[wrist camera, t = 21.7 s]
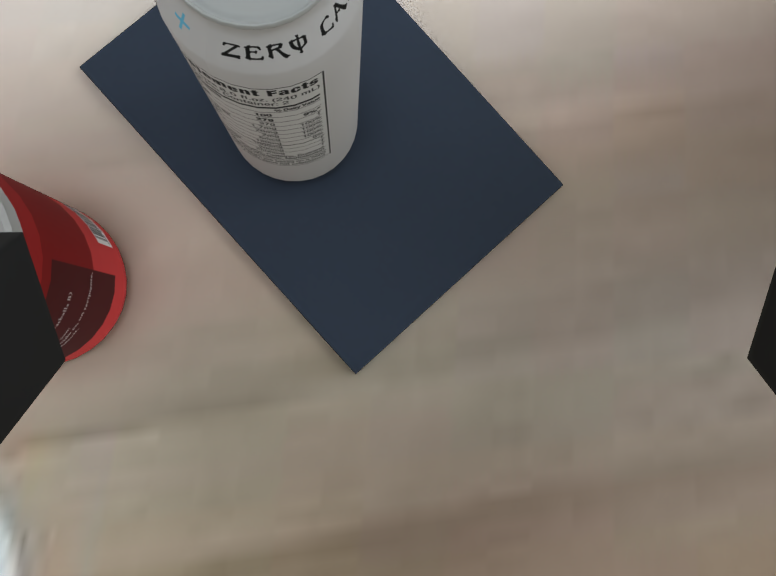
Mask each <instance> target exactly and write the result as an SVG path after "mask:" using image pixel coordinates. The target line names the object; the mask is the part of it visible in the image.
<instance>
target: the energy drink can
mask: <svg viewBox="0 0 776 576" xmlns="http://www.w3.org/2000/svg"><path fill="white" fill-rule="evenodd" d="M155 1H156V4H157V6H158V9H159V12H160V14H161V17H162V19H163V21H164V22H165V24H166V26H167V27H168V29H169V31H170V33H171V34H172V36H173V38H174V39H175V41H176V43H177V45H178V46H179V48H180V50H181V52H182V53H183V55H184V57H185V58H186V60H187V62H188V64H189V65H190V67H191V69H192V70H193V72H194V74H195V76H196V77H197V79H198V81H199V82H200V84H201V86H202V88H203V89H204V91H205V93H206V95H207V96H208V98H209V100H210V101H211V103H212V105H213V107H214V108H215V110H216V112H217V113H218V115H219V117H220V119H221V120H222V122H223V124H224V126H225V127H226V129H227V131H228V132H229V134H230V136H231V138H232V139H233V141H234V143H235V144H236V146H237V148H238V149H239V151H240V152H241V154H242V155H243V157H244V158H245V159H246V160H247V161H248V162H249V163H250V164H251V165H252V166H253V167H254V168H256V169H257V170H259V171H260V172H262V173H263V174H266V175H268V176H270V177H273V178H275V179H280V180H285V181H304V180H310V179H313V178H316V177H319V176H321V175H324V174H325V173H327V172H328V171H330V170H332V169H333V168H334V167H336V166H337V165H338V164H339V163H340V162H341V161H342V160H343V159H344V157H345V156H346V154H347V153H348V152H349V150H350V148H351V146H352V144H353V141H354V139H355V135H356V130H357V120H358V99H359V77H360V56H361V35H362V13H363V0H155Z"/></svg>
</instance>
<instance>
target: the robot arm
mask: <svg viewBox="0 0 776 576" xmlns="http://www.w3.org/2000/svg"><path fill="white" fill-rule="evenodd" d="M747 358H748V360H749V361H750V362H751V364H752V365H753V366H754V367H755V369H756V370H757V371H758V373H759V374H760V375H761V376H762V378H763V379H764V380H765V382H766V383H767V384H768V386H769V387H770V388H771V389H772V391H773V392H774V393H775V395H776V268H775V271H774V274H773V277H772V280H771V284H770V287H769V290H768V293H767V296H766V300H765V303H764V306H763V309H762V312H761V316H760V319H759V322H758V325H757V328H756V332H755V335H754V338H753V341H752V344H751V348H750V351H749V354H748V357H747ZM64 362H65V357H64V354H63V351H62V348H61V345H60V342H59V339H58V336H57V333H56V330H55V327H54V324H53V321H52V318H51V315H50V312H49V309H48V306H47V303H46V300H45V297H44V294H43V291H42V288H41V285H40V282H39V279H38V276H37V273H36V270H35V267H34V264H33V261H32V258H31V255H30V252H29V249H28V246H27V243H26V240H25V237H24V234H23V232H0V444H1V443H2V441H3V440H4V439H5V438H6V436H7V435H8V434H9V432H10V431H11V430H12V429H13V427H14V426H15V425H16V423H17V422H18V421H19V419H20V418H21V417H22V416H23V414H24V413H25V412H26V410H27V409H28V408H29V407H30V405H31V404H32V403H33V401H34V400H35V399H36V398H37V396H38V395H39V394H40V392H41V391H42V390H43V389H44V387H45V386H46V385H47V383H48V382H49V381H50V380H51V378H52V377H53V376H54V374H55V373H56V372H57V371H58V369H59V368H60V367H61V365H62V364H63V363H64Z"/></svg>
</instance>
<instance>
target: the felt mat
mask: <svg viewBox="0 0 776 576" xmlns="http://www.w3.org/2000/svg"><path fill="white" fill-rule="evenodd" d="M80 68H81V69H82V70H83V72H84V73H85V74H86V75H87V76H88V77H89V78H90V79H91V80H92V82H93V83H94V84H95V85H96V86H97V87H98V88H99V89H100V90H101V92H102V93H103V94H104V95H105V96H106V97H107V98H108V99H109V100H110V102H111V103H112V104H113V105H114V106H115V107H116V108H117V109H118V110H119V112H120V113H121V114H122V115H123V116H124V117H125V118H126V119H127V120H128V122H129V123H130V124H131V125H132V126H133V127H134V128H135V129H136V130H137V132H138V133H139V134H140V135H141V136H142V137H143V138H144V139H145V140H146V142H147V143H148V144H149V145H150V146H151V147H152V148H153V149H154V151H155V152H156V153H157V154H158V155H159V156H160V157H161V158H162V159H163V161H164V162H165V163H166V164H167V165H168V166H169V167H170V168H171V169H172V171H173V172H174V173H175V174H176V175H177V176H178V177H179V178H180V179H181V181H182V182H183V183H184V184H185V185H186V186H187V187H188V188H189V189H190V191H191V192H192V193H193V194H194V195H195V196H196V197H197V198H198V199H199V201H200V202H201V203H202V204H203V205H204V206H205V207H206V208H207V209H208V211H209V212H210V213H211V214H212V215H213V216H214V217H215V218H216V219H217V221H218V222H219V223H220V224H221V225H222V226H223V227H224V228H225V229H226V231H227V232H228V233H229V234H230V235H231V236H232V237H233V238H234V239H235V241H236V242H237V243H238V244H239V245H240V246H241V247H242V248H243V249H244V251H245V252H246V253H247V254H248V255H249V256H250V257H251V258H252V259H253V261H254V262H255V263H256V264H257V265H258V266H259V267H260V268H261V269H262V271H263V272H264V273H265V274H266V275H267V276H268V277H269V278H270V279H271V281H272V282H273V283H274V284H275V285H276V286H277V287H278V288H279V289H280V291H281V292H282V293H283V294H284V295H285V296H286V297H287V298H288V299H289V301H290V302H291V303H292V304H293V305H294V306H295V307H296V308H297V309H298V311H299V312H300V313H301V314H302V315H303V316H304V317H305V318H306V320H307V321H308V322H309V323H310V324H311V325H312V326H313V327H314V328H315V330H316V331H317V332H318V333H319V334H320V335H321V336H322V337H323V338H324V340H325V341H326V342H327V343H328V344H329V345H330V346H331V347H332V348H333V350H334V351H335V352H336V353H337V354H338V355H339V356H340V357H341V358H342V360H343V361H344V362H345V363H346V364H347V365H348V366H349V367H350V368H351V370H352V371H353V372H354V373H355V374H356V373H357V372H359V371H360V370H361V369H362V368H363V367H364V366H365V365H366V364H367V363H368V362H369V361H371V360H372V359H373V358H374V357H375V356H376V355H377V354H378V353H379V352H380V351H382V350H383V349H384V348H385V347H386V346H387V345H388V344H389V343H390V342H391V341H393V340H394V339H395V338H396V337H397V336H398V335H399V334H400V333H401V332H402V331H403V330H405V329H406V328H407V327H408V326H409V325H410V324H411V323H412V322H413V321H414V320H416V319H417V318H418V317H419V316H420V315H421V314H422V313H423V312H424V311H425V310H427V309H428V308H429V307H430V306H431V305H432V304H433V303H434V302H435V301H436V300H437V299H439V298H440V297H441V296H442V295H443V294H444V293H445V292H446V291H447V290H448V289H450V288H451V287H452V286H453V285H454V284H455V283H456V282H457V281H458V280H459V279H461V278H462V277H463V276H464V275H465V274H466V273H467V272H468V271H469V270H470V269H471V268H473V267H474V266H475V265H476V264H477V263H478V262H479V261H480V260H481V259H482V258H484V257H485V256H486V255H487V254H488V253H489V252H490V251H491V250H492V249H493V248H495V247H496V246H497V245H498V244H499V243H500V242H501V241H502V240H503V239H504V238H505V237H507V236H508V235H509V234H510V233H511V232H512V231H513V230H514V229H515V228H516V227H518V226H519V225H520V224H521V223H522V222H523V221H524V220H525V219H526V218H527V217H529V216H530V215H531V214H532V213H533V212H534V211H535V210H536V209H537V208H538V207H539V206H541V205H542V204H543V203H544V202H545V201H546V200H547V199H548V198H549V197H550V196H552V195H553V194H554V193H555V192H556V191H557V190H558V189H559V188H560V187H561V186H563V184H562V183H561V182H560V181H559V180H558V179H557V177H556V176H555V175H554V174H553V173H552V172H551V171H550V170H549V169H548V168H547V166H546V165H545V164H544V163H543V162H542V161H541V160H540V159H539V158H538V157H537V155H536V154H535V153H534V152H533V151H532V150H531V149H530V148H529V147H528V146H527V144H526V143H525V142H524V141H523V140H522V139H521V138H520V137H519V136H518V135H517V133H516V132H515V131H514V130H513V129H512V128H511V127H510V126H509V125H508V124H507V122H506V121H505V120H504V119H503V118H502V117H501V116H500V115H499V114H498V113H497V111H496V110H495V109H494V108H493V107H492V106H491V105H490V104H489V103H488V102H487V100H486V99H485V98H484V97H483V96H482V95H481V94H480V93H479V92H478V91H477V89H476V88H475V87H474V86H473V85H472V84H471V83H470V82H469V81H468V80H467V78H466V77H465V76H464V75H463V74H462V73H461V72H460V71H459V70H458V69H457V67H456V66H455V65H454V64H453V63H452V62H451V61H450V60H449V59H448V58H447V56H446V55H445V54H444V53H443V52H442V51H441V50H440V49H439V48H438V47H437V45H436V44H435V43H434V42H433V41H432V40H431V39H430V38H429V37H428V36H427V34H426V33H425V32H424V31H423V30H422V29H421V28H420V27H419V26H418V25H417V23H416V22H415V21H414V20H413V19H412V18H411V17H410V16H409V15H408V14H407V12H406V11H405V10H404V9H403V8H402V7H401V6H400V5H399V4H398V3H397V1H396V0H363V13H362V35H361V56H360V77H359V99H358V120H357V130H356V135H355V139H354V141H353V144H352V146H351V148H350V150H349V152H348V153H347V154H346V156H345V157H344V159H343V160H342V161H341V162H340V163H339V164H338V165H337V166H336V167H334V168H333V169H332V170H330V171H328V172H327V173H325V174H324V175H321V176H319V177H316V178H313V179H310V180H304V181H285V180H280V179H275V178H273V177H270V176H268V175H266V174H263V173H262V172H260V171H259V170H257V169H256V168H254V167H253V166H252V165H251V164H250V163H249V162H248V161H247V160H246V159H245V158H244V157H243V155H242V154H241V152H240V151H239V149H238V148H237V146H236V144H235V143H234V141H233V139H232V138H231V136H230V134H229V132H228V131H227V129H226V127H225V126H224V124H223V122H222V120H221V119H220V117H219V115H218V113H217V112H216V110H215V108H214V107H213V105H212V103H211V101H210V100H209V98H208V96H207V95H206V93H205V91H204V89H203V88H202V86H201V84H200V82H199V81H198V79H197V77H196V76H195V74H194V72H193V70H192V69H191V67H190V65H189V64H188V62H187V60H186V58H185V57H184V55H183V53H182V52H181V50H180V48H179V46H178V45H177V43H176V41H175V39H174V38H173V36H172V34H171V33H170V31H169V29H168V27H167V26H166V24H165V22H164V21H163V19H162V17H161V14H160V12H159V9H158V6H157V5H156V6H155V7H153V8H152V9H151V10H150V11H148V12H147V13H146V14H145V15H143V16H142V17H141V18H140V19H139V20H137V21H136V22H135V23H134V24H132V25H131V26H130V27H129V28H127V29H126V30H125V31H124V32H122V33H121V34H120V35H119V36H117V37H116V38H115V39H114V40H112V41H111V42H110V43H109V44H107V45H106V46H105V47H104V48H102V49H101V50H100V51H99V52H97V53H96V54H95V55H94V56H92V57H91V58H90V59H89V60H87V61H86V62H85V63H84V64H83V65H81V66H80Z"/></svg>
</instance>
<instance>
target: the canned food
mask: <svg viewBox="0 0 776 576" xmlns="http://www.w3.org/2000/svg"><path fill="white" fill-rule="evenodd" d="M0 232H23V234H24V237H25V240H26V243H27V246H28V249H29V252H30V255H31V258H32V261H33V264H34V267H35V270H36V273H37V276H38V279H39V282H40V285H41V288H42V291H43V294H44V297H45V300H46V303H47V306H48V309H49V312H50V315H51V318H52V321H53V324H54V327H55V330H56V333H57V336H58V339H59V342H60V345H61V348H62V351H63V354H64V357H65V362H66V361H69V360H71V359H74V358H77V357H79V356H80V355H82V354H84V353H86V352H87V351H89V350H91V349H92V348H93V347H95V346H96V345H97V344H98V343H99V342H100V341H101V340H103V339H104V338H105V336H106V335H107V334H108V333H109V331H110V330H111V329H112V327H113V326H114V325H115V324H116V322H117V320H118V318H119V316H120V314H121V312H122V310H123V306H124V302H125V298H126V289H127V278H126V272H125V266H124V263H123V260H122V258H121V255H120V253H119V250H118V248H117V246H116V245H115V243H114V242H113V240H112V238H111V237H110V235H109V234H108V233H107V232H106V231H105V230H104V229H103V228H102V227H101V226H100V225H99V224H98V223H97V222H96V221H94V220H93V219H91V218H90V217H88V216H87V215H85V214H84V213H82V212H80V211H78V210H76V209H74V208H72V207H70V206H67V205H65V204H63V203H61V202H59V201H57V200H55V199H53V198H51V197H49V196H47V195H44V194H42V193H40V192H38V191H36V190H34V189H32V188H30V187H28V186H26V185H24V184H21V183H19V182H17V181H15V180H13V179H11V178H9V177H7V176H5V175H3V174H1V173H0Z"/></svg>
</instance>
